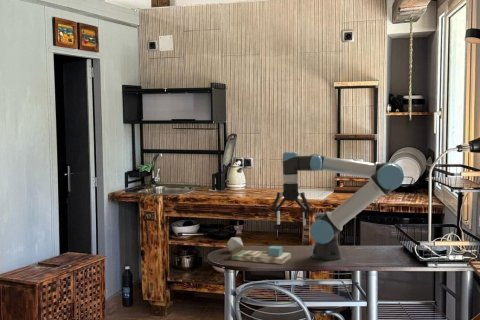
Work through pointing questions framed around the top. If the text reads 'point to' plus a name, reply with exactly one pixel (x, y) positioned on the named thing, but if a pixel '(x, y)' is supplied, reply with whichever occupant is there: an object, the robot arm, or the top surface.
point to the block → (275, 251)
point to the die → (234, 243)
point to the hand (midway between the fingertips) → (291, 224)
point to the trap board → (257, 256)
